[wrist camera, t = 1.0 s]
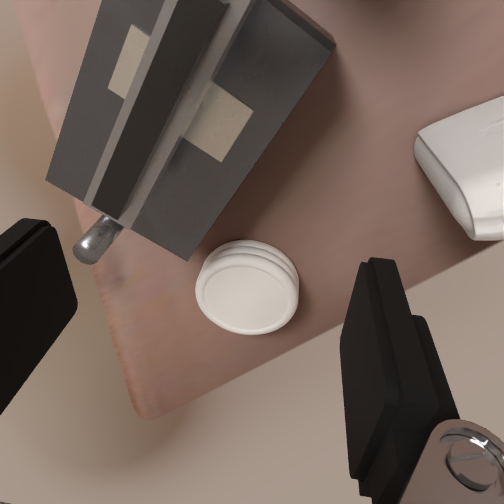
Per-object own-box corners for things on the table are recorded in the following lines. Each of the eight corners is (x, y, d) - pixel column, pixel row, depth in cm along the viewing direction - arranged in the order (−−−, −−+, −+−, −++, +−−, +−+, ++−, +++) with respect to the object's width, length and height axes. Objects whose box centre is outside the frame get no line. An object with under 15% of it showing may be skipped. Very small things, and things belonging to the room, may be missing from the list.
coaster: (242, 218, 35) (236, 238, 32) (320, 278, 37) (320, 302, 35) (184, 277, 40) (174, 300, 37) (256, 327, 43) (252, 351, 40)
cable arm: (203, -58, 16) (183, -67, 13) (262, -11, 16) (253, -11, 14) (98, 188, 23) (73, 211, 21) (142, 213, 24) (122, 238, 22)
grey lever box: (175, -91, 23) (63, -157, 12) (332, 35, 25) (345, 65, 15) (85, 151, 33) (-18, 224, 22) (204, 223, 35) (160, 318, 25)
